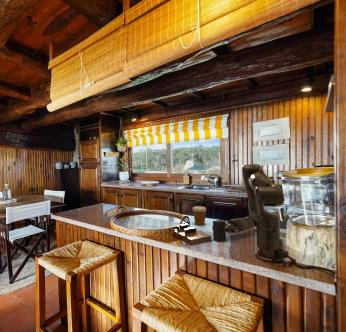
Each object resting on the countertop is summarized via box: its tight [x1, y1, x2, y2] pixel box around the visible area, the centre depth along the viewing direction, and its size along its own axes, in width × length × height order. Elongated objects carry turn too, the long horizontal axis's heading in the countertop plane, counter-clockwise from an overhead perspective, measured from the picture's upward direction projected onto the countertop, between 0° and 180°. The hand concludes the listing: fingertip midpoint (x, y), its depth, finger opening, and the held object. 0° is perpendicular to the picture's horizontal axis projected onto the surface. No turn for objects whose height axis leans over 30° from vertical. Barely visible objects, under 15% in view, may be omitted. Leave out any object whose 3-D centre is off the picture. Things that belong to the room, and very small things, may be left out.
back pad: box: [212, 219, 227, 243], centre depth 121 cm, size 4×6×11 cm, turn 111°
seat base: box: [172, 223, 212, 246], centre depth 126 cm, size 18×14×6 cm
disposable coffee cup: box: [192, 205, 207, 226], centre depth 152 cm, size 10×10×12 cm
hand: (215, 229), depth 120 cm, fingers closed on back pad, 3 cm apart
